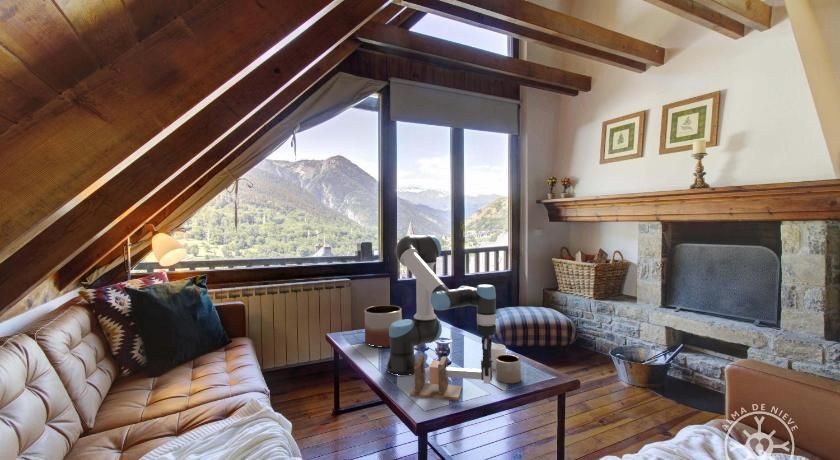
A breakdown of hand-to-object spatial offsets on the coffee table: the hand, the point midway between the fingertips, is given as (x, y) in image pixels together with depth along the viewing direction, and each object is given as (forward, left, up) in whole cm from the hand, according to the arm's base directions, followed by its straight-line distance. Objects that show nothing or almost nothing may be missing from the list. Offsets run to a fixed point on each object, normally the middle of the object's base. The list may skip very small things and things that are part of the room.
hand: (487, 380), depth 160 cm
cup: (+1, +34, -7) cm, 35 cm away
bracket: (-21, 0, -7) cm, 22 cm away
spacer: (-21, 0, -2) cm, 21 cm away
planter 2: (+8, +19, -7) cm, 22 cm away
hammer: (-10, 0, +1) cm, 10 cm away
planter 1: (-65, +60, -7) cm, 89 cm away
